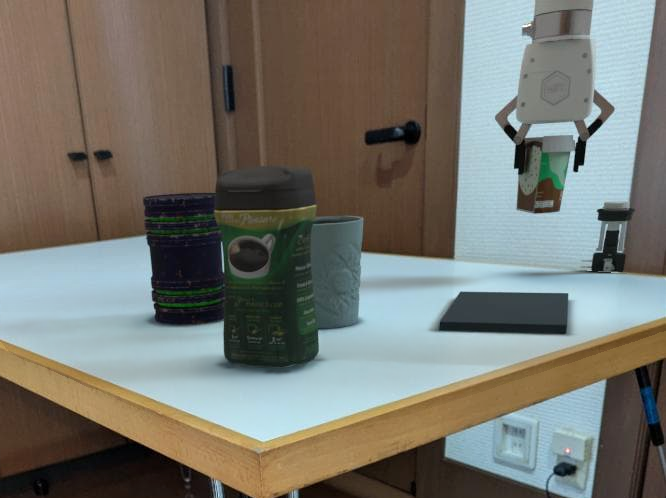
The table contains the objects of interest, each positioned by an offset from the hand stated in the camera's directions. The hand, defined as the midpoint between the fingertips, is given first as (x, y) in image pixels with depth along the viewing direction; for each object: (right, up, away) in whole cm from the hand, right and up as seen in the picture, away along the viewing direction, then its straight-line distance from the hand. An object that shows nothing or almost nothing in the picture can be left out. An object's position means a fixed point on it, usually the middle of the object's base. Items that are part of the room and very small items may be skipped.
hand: (548, 172), depth 117 cm
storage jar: (-51, -25, -11) cm, 58 cm away
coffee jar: (-41, -35, -33) cm, 64 cm away
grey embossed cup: (-34, -27, -16) cm, 47 cm away
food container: (0, -5, +2) cm, 5 cm away
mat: (-11, -26, -18) cm, 33 cm away
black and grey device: (+12, -12, +9) cm, 19 cm away
